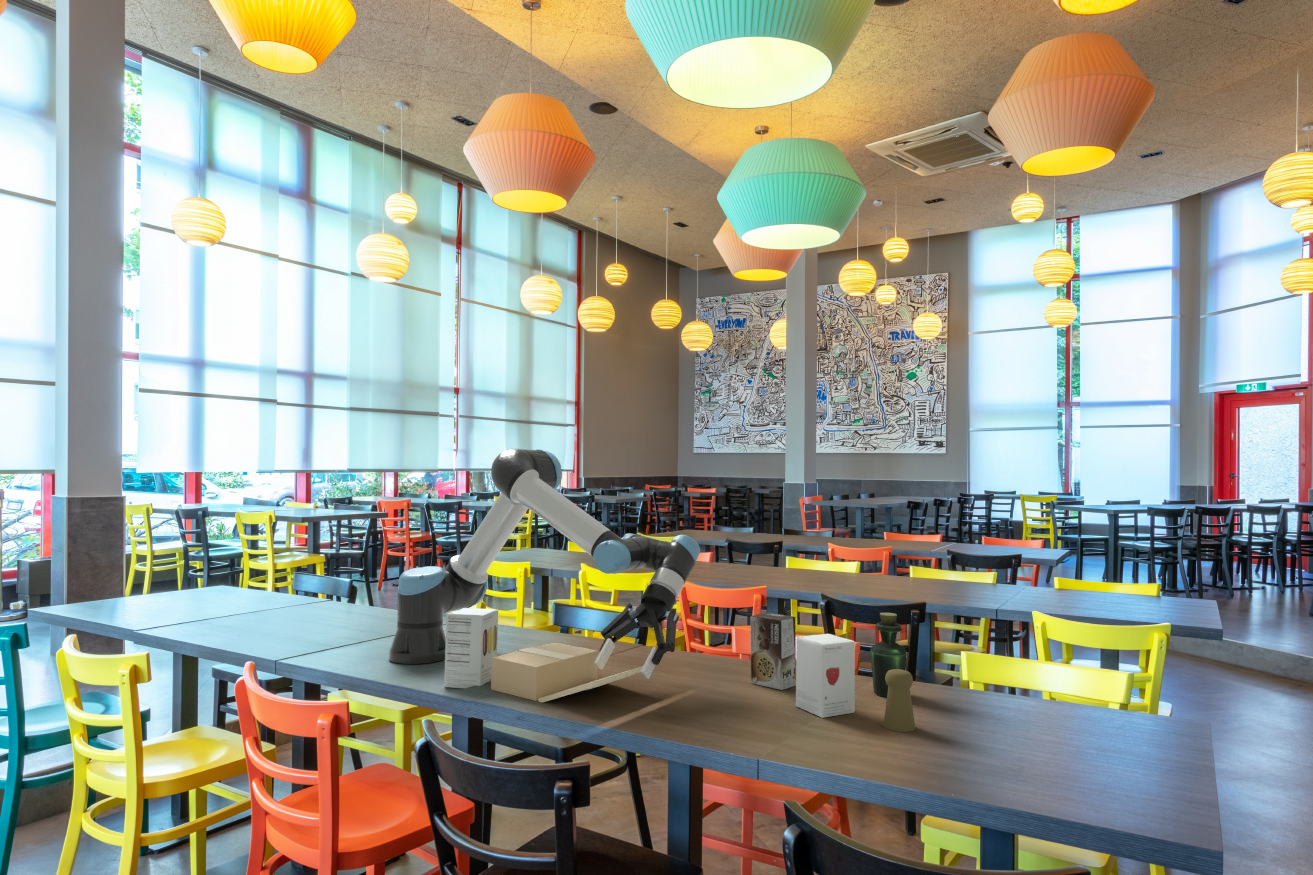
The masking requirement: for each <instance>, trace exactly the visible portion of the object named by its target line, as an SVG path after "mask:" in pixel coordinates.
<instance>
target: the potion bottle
mask: <svg viewBox="0 0 1313 875" xmlns="http://www.w3.org/2000/svg"><path fill="white" fill-rule="evenodd" d="M879 616H880V622H877V623H876V625H875V628H874V629H875V630H876V631H879V633H880V638H881V641H879V642H877V643H875V644H873V645H872V646H871V648H870V650H869V652H870V661H871V662H870V663H871V674H872V687H873V693H874V694H875V696H879V697H881V698H882V697H883V698H887V693H888V685H887V684H886V680H885V676H886V673H887V672H888V671H889V670H892V669H901V670H905V671H907V658H908V653H907V652H908V651H906V649H905V647H903V646H902V645H900V644H899V643H897V642H896V637H897V635H898V632H901V631H903V630H902V627H901V624H900V623H897V617H898V615H897V614H896V613H893V612H879Z"/></svg>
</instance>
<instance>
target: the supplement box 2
mask: <svg viewBox="0 0 1313 875" xmlns="http://www.w3.org/2000/svg"><path fill="white" fill-rule="evenodd" d="M855 642H856V641H855V640H852V639H849V638H844V637H841V636H838V635H835V634H832V633H823V634H811V635H801V636H796V686H795V707H797V708H800V709H801V710H803V711H806V712H808V713H811V714H813V715H816V716H818V717H820V718H821V719H823V718H829V717H835V716H836V717H837V716H842V715H846V714H854V713H855V712H856V711H855V709H856V708H855V707H856V706H855V705H856V704H855V701H856V697H855V695H856V693H855V692H856V691H855V690H856V687H855V686H856V684H855V681H856V679H855V678H856V677H855V676H856V675H855V674H856V673H855V671H856V670H855V669H856V662H855V661H856V660H855V659H856V658H855V657H856V650H855V649H856V647H855V646H856V643H855Z"/></svg>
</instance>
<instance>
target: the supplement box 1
mask: <svg viewBox="0 0 1313 875" xmlns="http://www.w3.org/2000/svg"><path fill="white" fill-rule="evenodd" d="M445 614H446V616H445V637H446V646H445V659H444V683H443V684H444V685H443V687H444V688H453V689H454V688H455V689H467V688H472V687H474V686H475V687H481V686H483V685H485V684H486V683H489V682H490V683H491V669H492V657H495V656H498V640H499V639H498V638H499V637H498V634H499V609H496V608H477V607H476V608H474V607H470V608H462V609H460V610H457V611H451V612H447V613H445Z"/></svg>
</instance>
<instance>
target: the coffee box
mask: <svg viewBox="0 0 1313 875" xmlns="http://www.w3.org/2000/svg"><path fill="white" fill-rule="evenodd" d="M796 624H797V623H796V616H792V615H784V614H778V613H772V612H760V613H758V614H754V615H751V616H750V683H751V684H752V685H756V686H757V685H758V686H763V687H766V688H771V689H776V690H781V691H784V690H786V689H789V688H792V687H796V656H797V634H796V629H797V628H796V627H797V626H796Z"/></svg>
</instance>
